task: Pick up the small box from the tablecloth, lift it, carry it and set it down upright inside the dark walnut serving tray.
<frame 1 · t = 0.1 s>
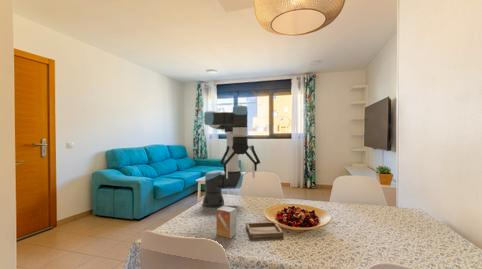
hand: (240, 177, 118), 28 cm above the table, fingers open, 13 cm apart
small box: (226, 234, 115), on the table
tray: (263, 232, 118), on the table
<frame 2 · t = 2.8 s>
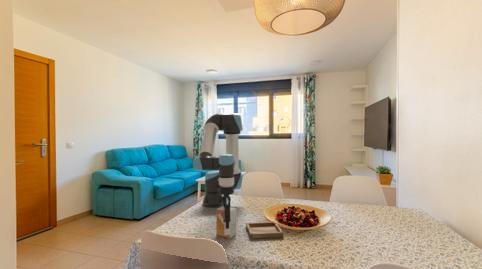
hand: (226, 230, 115), 2 cm above the table, fingers closed on small box, 10 cm apart
small box: (226, 234, 115), on the table, touching gripper
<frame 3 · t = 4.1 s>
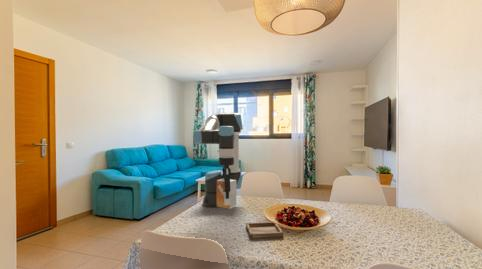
hand: (226, 201, 116), 16 cm above the table, fingers closed on small box, 10 cm apart
small box: (226, 206, 116), point 14 cm above the table, touching gripper
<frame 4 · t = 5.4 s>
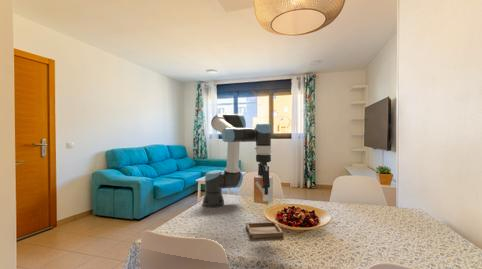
hand: (263, 197, 118), 18 cm above the table, fingers closed on small box, 10 cm apart
small box: (263, 202, 118), point 15 cm above the table, touching gripper
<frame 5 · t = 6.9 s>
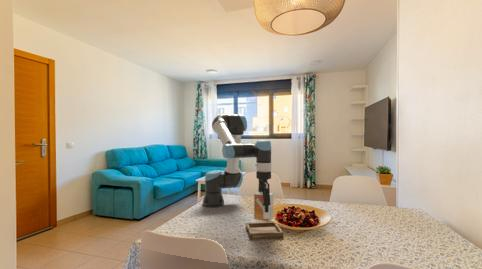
hand: (263, 214, 118), 9 cm above the table, fingers closed on small box, 10 cm apart
small box: (263, 219, 118), point 7 cm above the table, touching gripper
when the fingers open (5 cm above the table, at t = 8.3 s): small box drops 2 cm, resting on tray.
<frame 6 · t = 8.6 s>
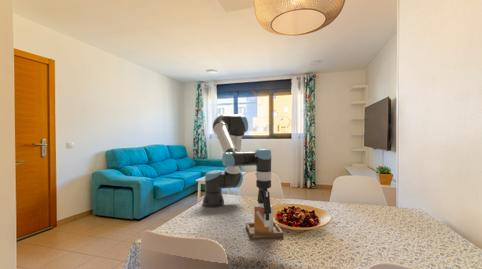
hand: (263, 221, 118), 6 cm above the table, fingers open, 13 cm apart
small box: (263, 231, 117), point 1 cm above the table, touching tray
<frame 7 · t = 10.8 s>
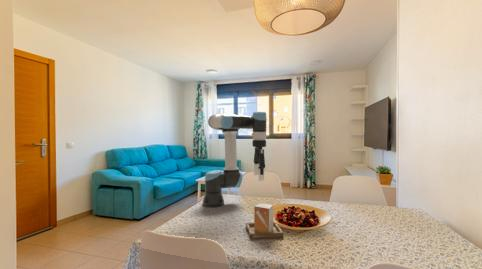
hand: (258, 177, 129), 26 cm above the table, fingers open, 13 cm apart
nothing on the table moved.
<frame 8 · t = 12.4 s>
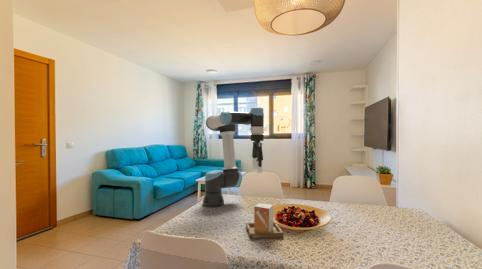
hand: (257, 170, 134), 29 cm above the table, fingers open, 13 cm apart
nothing on the table moved.
at the end: small box inside the target area on the tray (0.5 cm from its centre), point 0.6 cm above the tray's base; small box tilted 0°; the gripper is holding nothing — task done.
